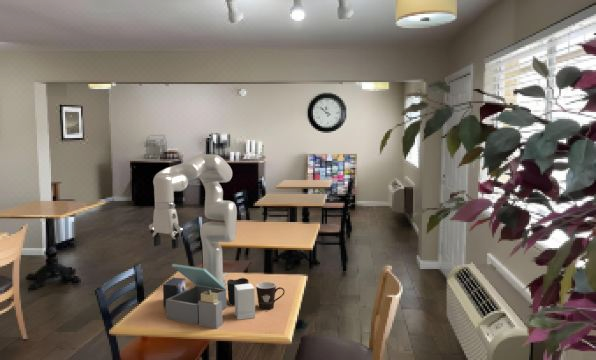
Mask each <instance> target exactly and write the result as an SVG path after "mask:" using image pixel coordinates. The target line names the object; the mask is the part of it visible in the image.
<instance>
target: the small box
mask: <svg viewBox="0 0 596 360" xmlns="http://www.w3.org/2000/svg"><path fill="white" fill-rule="evenodd" d="M186 284H187V283H186V277H184V278H182V277H175V276H174V277H172V278H170V279H168V280H167V281H166V282H164V283H162V292H163V293H162V295H163V297H162V298H163V303H162V304H163V306H162V307H163V308H166V299H168V298H170V297H173V296H175V295H177V294H179V293H181V292H183V291H185V290H187V288H186Z"/></svg>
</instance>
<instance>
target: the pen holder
mask: <svg viewBox="0 0 596 360" xmlns="http://www.w3.org/2000/svg"><path fill="white" fill-rule="evenodd" d="M240 284H249V279H247V278H244V277H241V278H237V279H228V280H227V281H226V285H227V286H226V287H227V299H228V304H229V305H231V306H233V307H235V291H234V285H240Z"/></svg>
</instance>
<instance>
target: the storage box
mask: <svg viewBox="0 0 596 360" xmlns="http://www.w3.org/2000/svg"><path fill="white" fill-rule="evenodd" d="M207 290H211V292H213V293H218V301H216V302H214V303H210V302H205V301H201V293H203V292H205V291H207ZM226 309H227V290H222V289H216V288H209V287H203V286H198V285H194V286H192V287H190V288H188V289H187V288H186V290H185V291H183V292H181V293H179V294H177V295H175V296H173V297H170V298H168V299H166V307H165V310H166V311H165V312H166V314H165V315H166V319H168V320H172V321H176V322H177V321H178V322H183V323H187V324H193V325H196V326H198V325H199V326H202V327H207V328H212V329H219V328H220V327H222V326H223V311H224V310H226Z"/></svg>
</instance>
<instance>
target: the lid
mask: <svg viewBox="0 0 596 360" xmlns="http://www.w3.org/2000/svg"><path fill="white" fill-rule="evenodd" d="M171 267H172V268H173V269H175V270H176V271H177V272H179V273H180V274H181V275H182V276H184V278H185V279H187V280H188V281H190V282H191V283H192V284H193V285H194V286H196V285H197V286H204V287H210V288H215V289H221V290H226V291H228V286H226V285H225V286H224V285H223V284H222V283H221V282H220V281H219V280H217V279H216V278H215V277H214V276H213V275H212V274H211V273H209V272H208V271H207V270H206V269H205V268H203V267H199V266H198V267H197V266H192V265H191V266H190V265H183V264H176V263H172V264H171Z"/></svg>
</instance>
